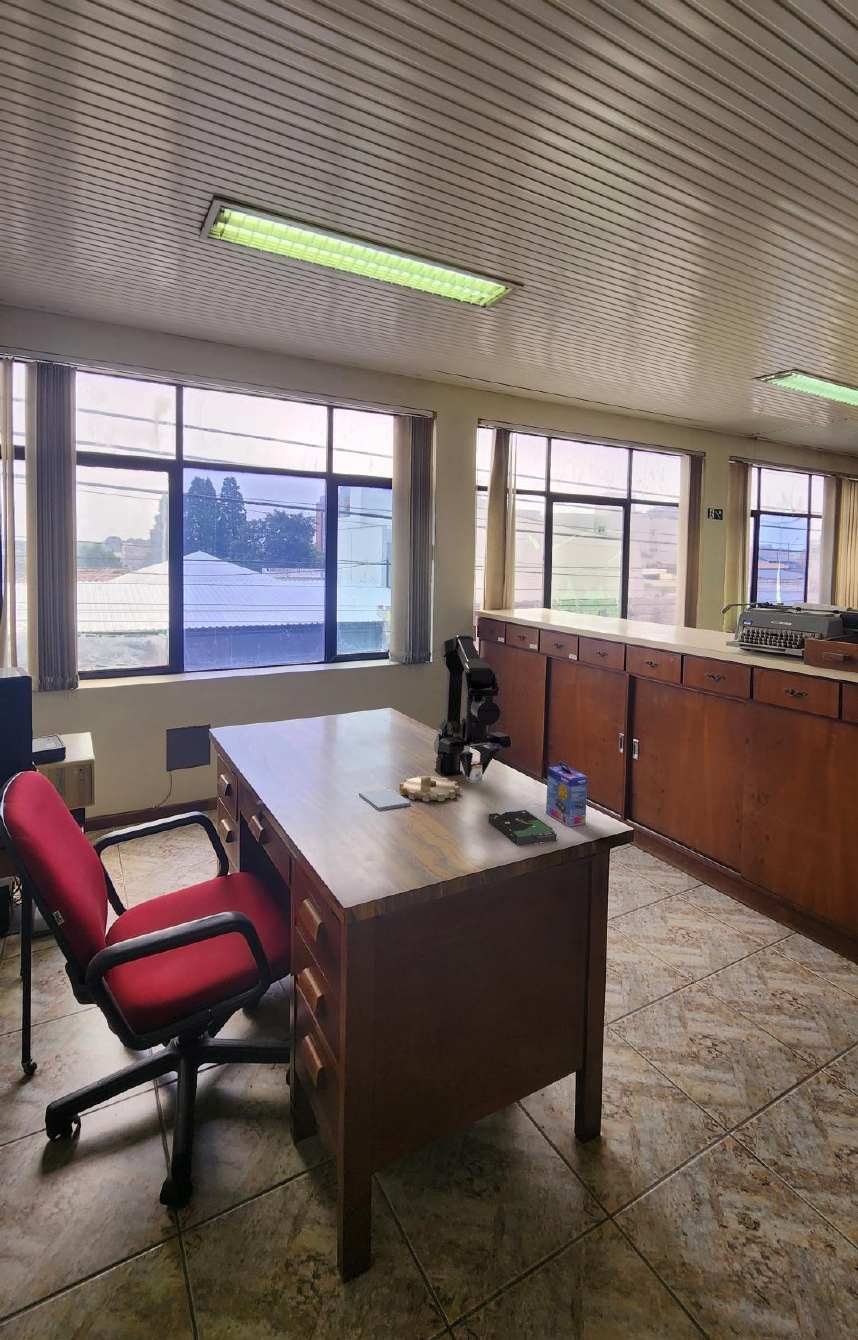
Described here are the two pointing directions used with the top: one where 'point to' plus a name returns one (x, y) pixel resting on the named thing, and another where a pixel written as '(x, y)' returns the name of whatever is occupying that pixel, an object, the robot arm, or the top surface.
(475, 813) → the top surface
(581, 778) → the ink cartridge box
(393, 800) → the slate pad
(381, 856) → the top surface
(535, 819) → the disk drive
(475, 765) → the small glass jar
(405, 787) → the sprocket wheel
